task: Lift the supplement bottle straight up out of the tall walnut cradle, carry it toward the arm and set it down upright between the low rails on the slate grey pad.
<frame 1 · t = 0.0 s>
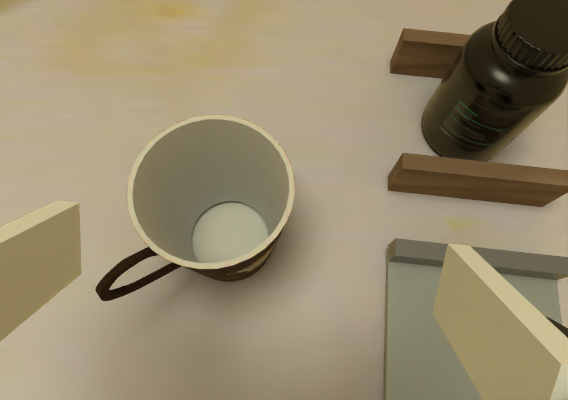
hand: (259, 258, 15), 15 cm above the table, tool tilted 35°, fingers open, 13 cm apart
slate pad: (472, 344, 29), on the table
supplement bottle: (459, 130, 35), on the table
coffee mug: (210, 244, 31), on the table
walnut cradle: (461, 129, 35), on the table
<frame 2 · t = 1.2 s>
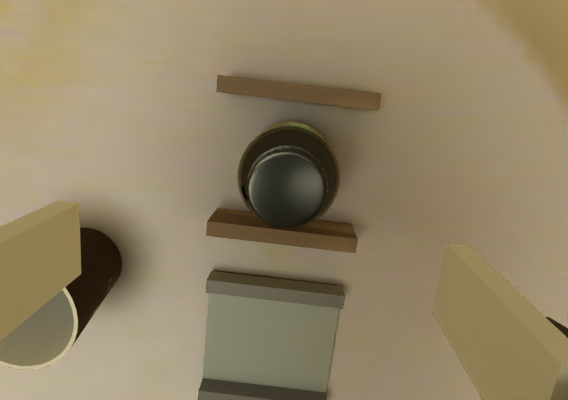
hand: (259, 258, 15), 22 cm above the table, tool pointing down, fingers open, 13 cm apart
slate pad: (270, 336, 40), on the table
supplement bottle: (290, 160, 36), on the table
coffee mug: (73, 263, 39), on the table
walnut cradle: (290, 160, 36), on the table
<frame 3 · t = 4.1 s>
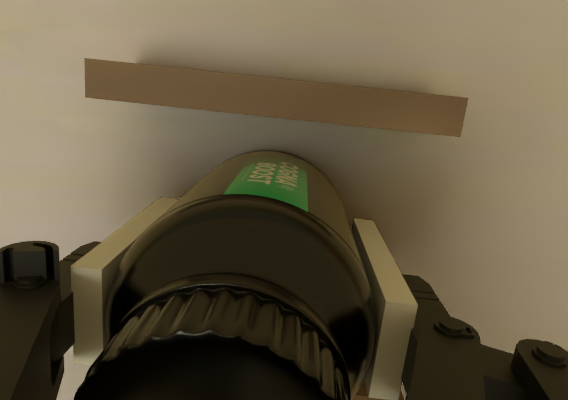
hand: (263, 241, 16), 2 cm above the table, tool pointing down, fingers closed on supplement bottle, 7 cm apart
supplement bottle: (267, 223, 19), on the table, touching gripper
walnut cradle: (267, 225, 18), on the table
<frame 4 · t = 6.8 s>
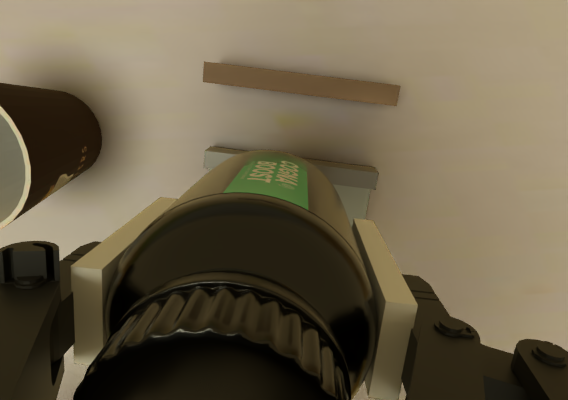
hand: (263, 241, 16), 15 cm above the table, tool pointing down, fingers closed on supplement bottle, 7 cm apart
slate pad: (282, 233, 33), on the table
supplement bottle: (268, 223, 19), point 13 cm above the table, touching gripper
coffee mug: (44, 138, 32), on the table
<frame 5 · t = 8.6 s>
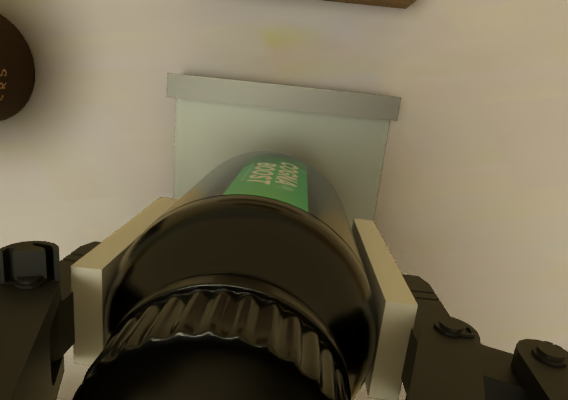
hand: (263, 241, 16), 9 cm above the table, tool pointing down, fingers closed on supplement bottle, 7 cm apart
slate pad: (275, 191, 25), on the table
supplement bottle: (267, 224, 19), point 7 cm above the table, touching gripper
when the fingers open (4 cm above the table, at t = 9.9 s): supplement bottle drops 1 cm, resting on slate pad.
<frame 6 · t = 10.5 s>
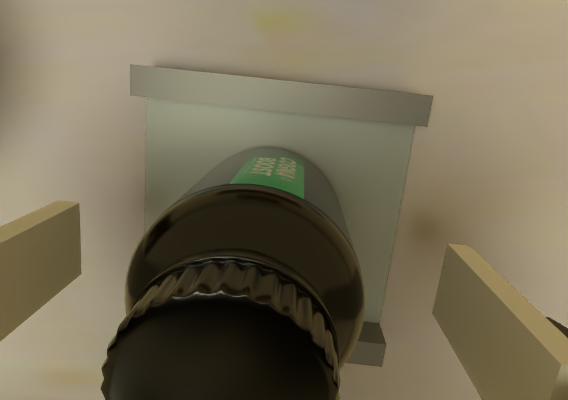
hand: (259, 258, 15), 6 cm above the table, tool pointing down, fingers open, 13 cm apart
slate pad: (270, 212, 20), on the table
supplement bottle: (268, 215, 20), resting on slate pad
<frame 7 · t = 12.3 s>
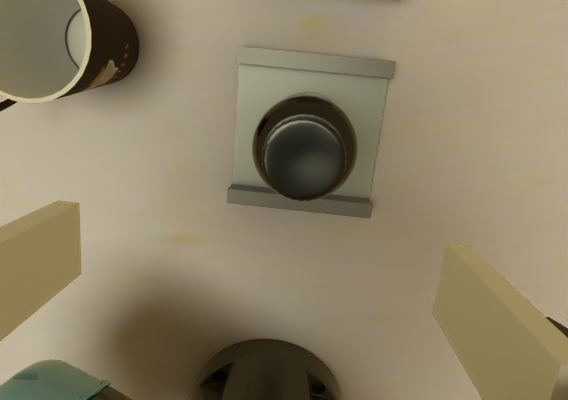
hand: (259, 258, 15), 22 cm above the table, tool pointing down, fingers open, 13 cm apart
slate pad: (306, 132, 35), on the table
supplement bottle: (305, 133, 35), resting on slate pad
coffee mug: (85, 48, 35), on the table
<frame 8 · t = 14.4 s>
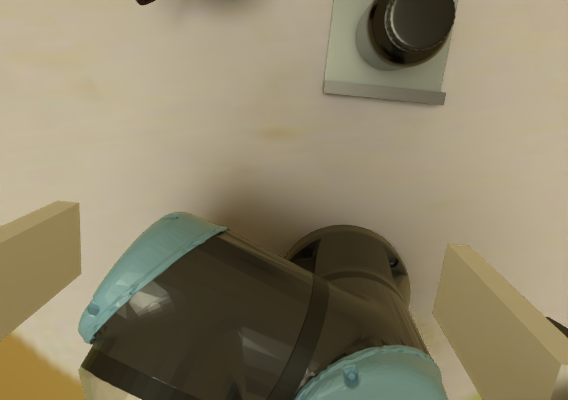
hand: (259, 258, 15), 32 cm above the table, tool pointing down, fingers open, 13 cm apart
slate pad: (388, 35, 42), on the table
supplement bottle: (388, 35, 42), resting on slate pad
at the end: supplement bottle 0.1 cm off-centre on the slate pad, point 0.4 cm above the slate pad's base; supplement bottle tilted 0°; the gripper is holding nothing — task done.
